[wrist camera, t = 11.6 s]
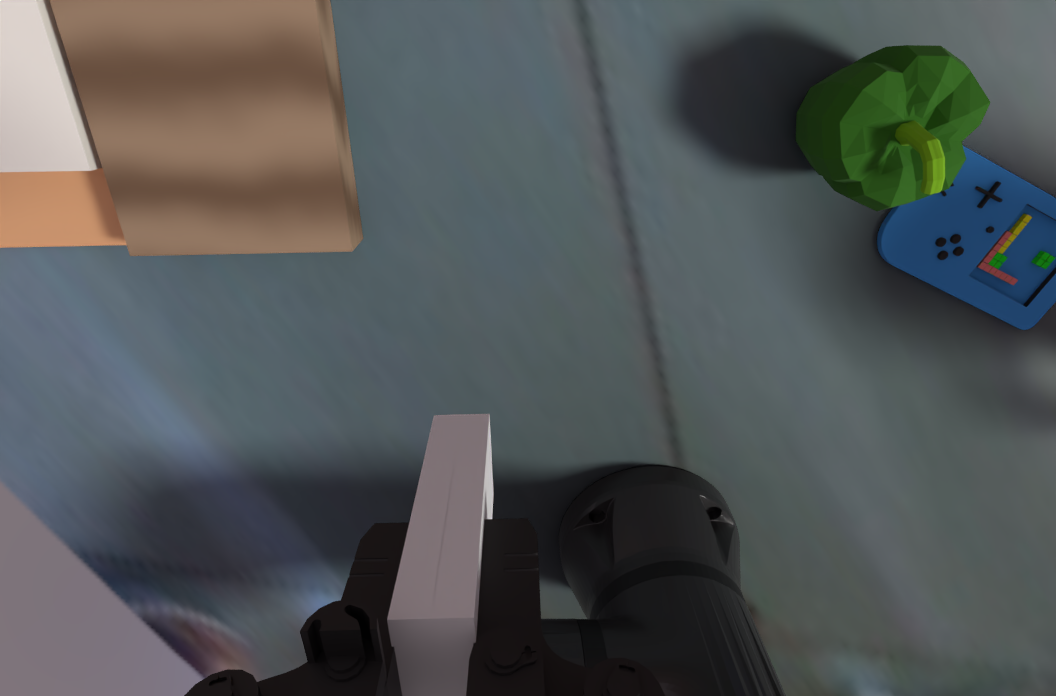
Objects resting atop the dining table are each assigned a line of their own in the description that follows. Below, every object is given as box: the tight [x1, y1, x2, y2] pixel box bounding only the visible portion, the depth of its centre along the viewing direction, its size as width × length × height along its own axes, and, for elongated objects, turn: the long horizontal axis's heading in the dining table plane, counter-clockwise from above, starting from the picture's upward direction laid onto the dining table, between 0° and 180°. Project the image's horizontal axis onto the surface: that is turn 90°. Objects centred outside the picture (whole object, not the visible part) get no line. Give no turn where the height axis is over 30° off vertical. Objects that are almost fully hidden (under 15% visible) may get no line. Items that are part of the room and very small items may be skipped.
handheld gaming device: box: [877, 146, 1056, 330], centre depth 41 cm, size 8×1×15 cm
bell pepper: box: [796, 45, 990, 211], centre depth 34 cm, size 8×8×10 cm
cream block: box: [0, 0, 102, 172], centre depth 35 cm, size 10×6×2 cm, turn 1°
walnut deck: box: [50, 0, 363, 256], centre depth 35 cm, size 20×14×3 cm
